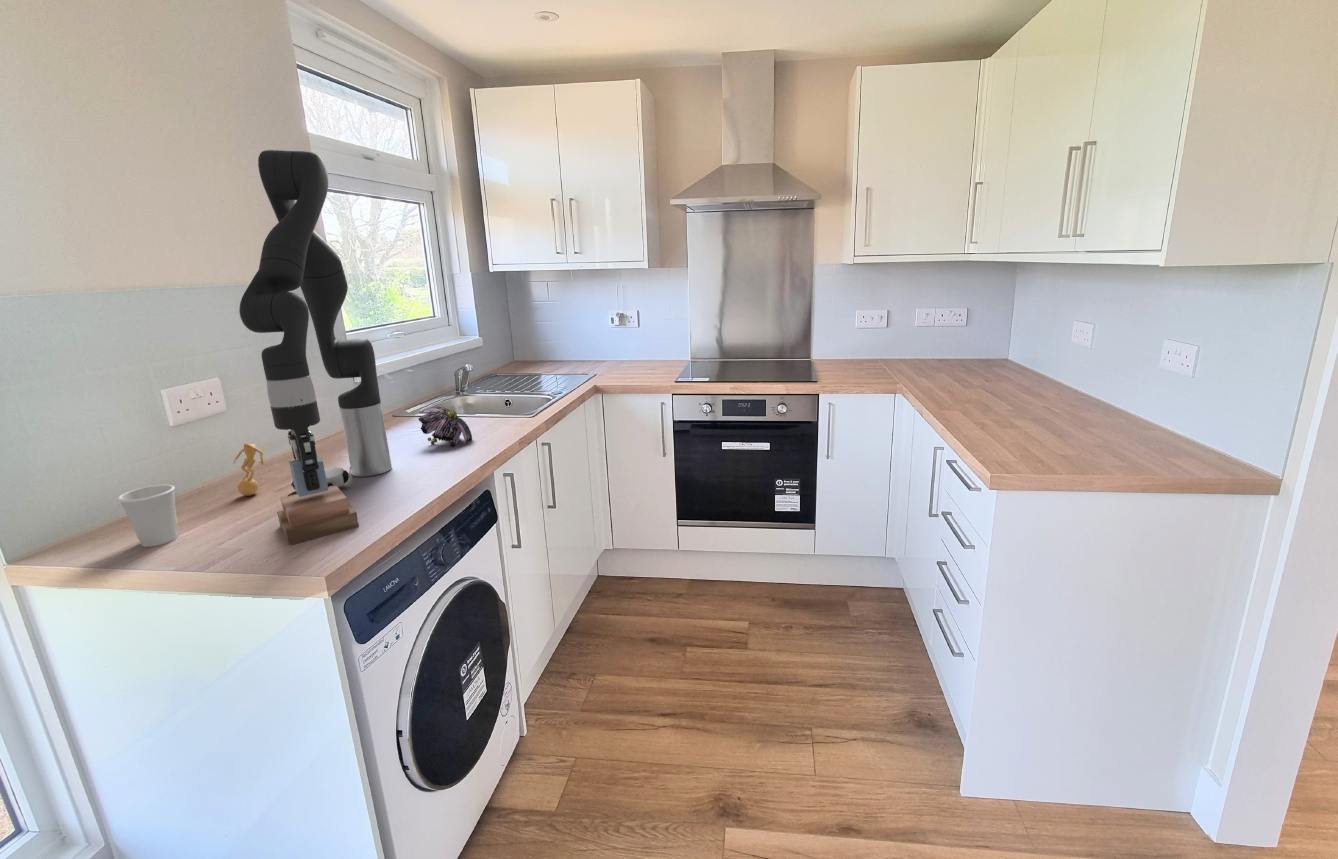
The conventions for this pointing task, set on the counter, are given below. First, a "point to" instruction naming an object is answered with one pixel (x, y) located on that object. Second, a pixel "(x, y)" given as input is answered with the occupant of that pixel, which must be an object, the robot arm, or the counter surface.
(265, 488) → the counter surface
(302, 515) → the wooden stepped block
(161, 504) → the dixie cup
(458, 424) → the decorative flower
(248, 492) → the figurine
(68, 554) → the counter surface
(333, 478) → the robot toy
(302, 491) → the slate brick
